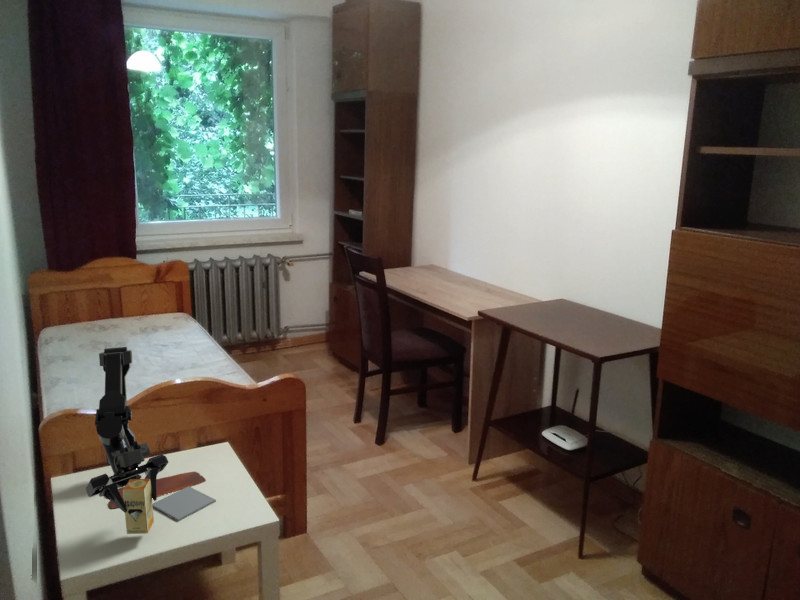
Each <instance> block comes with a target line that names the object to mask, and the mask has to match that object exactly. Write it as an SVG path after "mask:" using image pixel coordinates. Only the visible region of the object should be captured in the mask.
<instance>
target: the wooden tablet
mask: <svg viewBox="0 0 800 600" xmlns="http://www.w3.org/2000/svg"><path fill="white" fill-rule="evenodd" d="M206 481H207V479H206V478H205V477H204V476H203V475H201V473H199V472H197V471H190V472H183V473H177V474H175V475H170V476H166V477H160V478H156V494H157V498H159V497H162V496H161V495H163V496H165V495H164V494H166V495H169V494H168V493H170V494H173V493H176V492H178V491H180V490H182V489H184V488H186V487H188V486H189V487H191V488H193V487H195V486H198V485H200V484H202V483H205V482H206ZM124 487H125V486H121V487H118V491H119V493H120V495H121V497H122V499H123V501H124V498H123V489H124ZM172 492H173V493H172ZM158 496H159V497H158ZM107 506H108V509H110V510H114V509H115V510H116V509H120V508H119V507H118V506H117V505H115V504H114V503H113V502H112V501H110V500H109V501H108V504H107Z"/></svg>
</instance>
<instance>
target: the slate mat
mask: <svg viewBox="0 0 800 600" xmlns="http://www.w3.org/2000/svg"><path fill="white" fill-rule="evenodd" d="M216 502H217V499H215V498H213V497H212V496H210V495H207V494H205V493H204V492H202V491H200V490H197V489H195V488H194V487H189V486H188V487H186V488H184V489H182V490H179V491H176V492H173V493H171V494H170V495H167V496H166V497H163V498H162V499H159V500H156V501H154V502H152V506H153V508H154V509H155V508H156V509H155V510H157V509H158V511H159V510H160V511H159V512H161V511H162V512H161V513H163V512H164V513H165V515H166V514H167V516H168V515H169V516H168V517H170V516H171V517H170V518H171V519H173V518H174V520H175V521H177V522H180V521H183V520H184V519H185V518H187V516H188V517H189V515H190V516H191V515H194V514H195V513H197V512H199V511H201V510H203V509H205V508H207V507H209V506H211V505H213V504H215V503H216ZM210 504H211V505H210ZM208 505H209V506H208ZM206 506H207V507H206ZM164 513H163V514H164Z"/></svg>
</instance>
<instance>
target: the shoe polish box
mask: <svg viewBox="0 0 800 600" xmlns="http://www.w3.org/2000/svg"><path fill="white" fill-rule="evenodd" d="M123 487H124V489H123V498H124V503H125V505H126V508H127V512H126V513H124V516H125V527H126V529H125V530H126V535H132V534H134V535H135V534H136V535H137V534H140V535H141V534H148V533H149V532H150V530H151V528H152V526H153V524H154V519H155V518H154V509H153V508H154V507H153V506H152V504H153V499H152V493H151V481H150V479H144V478H140V479H130V480H129V481H128V483H127V484H126V485H124V486H123Z"/></svg>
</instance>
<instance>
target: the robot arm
mask: <svg viewBox="0 0 800 600" xmlns="http://www.w3.org/2000/svg"><path fill="white" fill-rule="evenodd" d="M98 357H99V359H98V360H99V361H98V362H99V367H102V370H103V372H104V373H105V375H104V395H103V396H102V397H101V398H100V399H99V400H98V401H99V403H98V408H97V409H96V412H95V417H94V418H95V420H94V425H95V428H96V433H97V435H98V438H99V440H100V443H101V445H102V448H103V449H104V452H105V456H106V462H107V466H110V467H111V468H110V469H111V470H112V472H113V475H111V476H109V475H108V474H107V473H103V474H100V475H98V476H95V477H91V478H90V480H89V482H88V483H87V485H86V487H85V488H86V493H87V497H88V498H91V497H94V496H97V495H98V496H99V497H100V498H101V497H105V498H106V499H107V500H109V501H112V502H113V503H114V504H115V505H117V506H118V507H119V508H118V509H120V510H121V511H122V512H123V513H124V514H125V513H126V512H127V508H126V505H125V503H124V501H123V499H122V497H121V495H120V493H119V491H118V488H119V487H125V486H126V484H127V483H128V481H129V480H130V479H142V475H143V474H145V477H144V478H143V479H150V481H151V493H152V498H153V499H152V501H154V502H157V501H158V500H157V498H158V497H157V494H156V479H157V478H158V477H157V476H158V474H159V473H161V472H162V471H163V470H165V468H166V467H167V465H168V464H169V460H168V458H167V456H166V455H164V454H163V453H161V454H159V455H156V456H152V457H150V458H149V459H148V460H147V462H146V463H145V464H143V465H141V464H142V463H143V462H145V460H146V459H145V457H147V456H150V455H151V450H150V447H149V445H148V444H147V442H145V443H141V444H139V443H138V442H139V441H138V440H136V435H135V433H134V432H133V430H132V429H130V427H129V423H130V421H132V419H133V418H132V415H133V411H132V409H131V406H130V405H128V399H127V384H126V383H127V381H126V376H127V375H128V373H129V371H130V369H131V364H133V351H132V349H128V346H120V347H119V346H118V347H106V348H104V349H103V352H100V353H98ZM118 486H119V487H118Z"/></svg>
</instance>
